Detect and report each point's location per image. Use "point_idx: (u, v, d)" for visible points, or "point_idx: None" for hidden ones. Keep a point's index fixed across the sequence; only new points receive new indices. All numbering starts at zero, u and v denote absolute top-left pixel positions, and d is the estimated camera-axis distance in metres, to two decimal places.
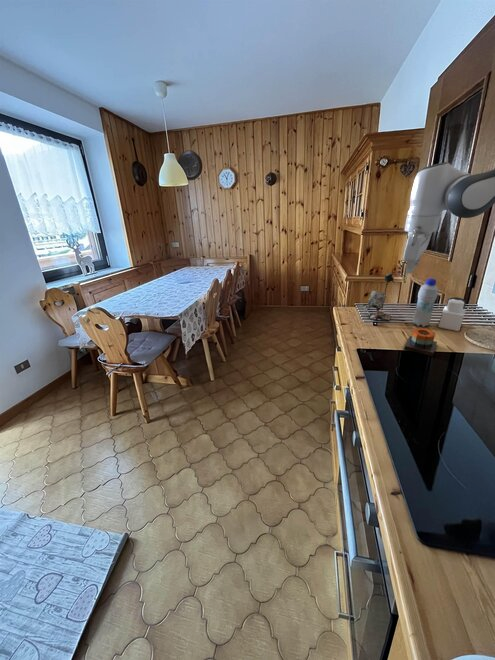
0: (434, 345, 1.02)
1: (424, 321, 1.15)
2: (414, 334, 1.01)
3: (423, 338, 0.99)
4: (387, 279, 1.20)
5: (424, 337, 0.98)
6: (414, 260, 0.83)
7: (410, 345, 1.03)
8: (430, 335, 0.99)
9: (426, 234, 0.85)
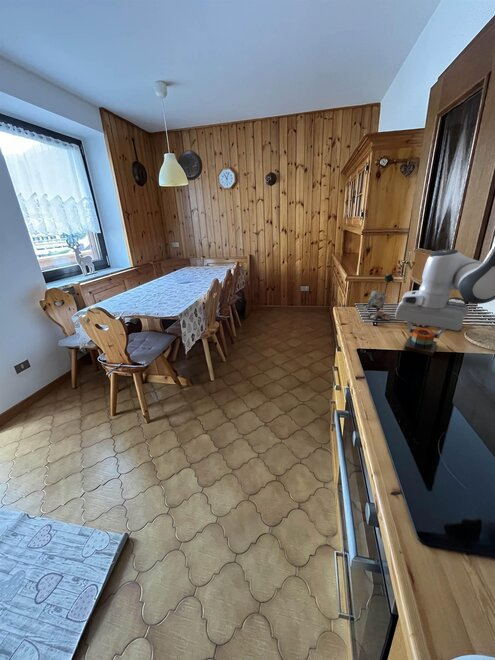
0: (434, 345, 1.02)
1: None
2: (414, 334, 1.01)
3: (423, 338, 0.99)
4: (387, 279, 1.20)
5: (424, 337, 0.98)
6: None
7: (410, 345, 1.03)
8: (430, 335, 0.99)
9: None
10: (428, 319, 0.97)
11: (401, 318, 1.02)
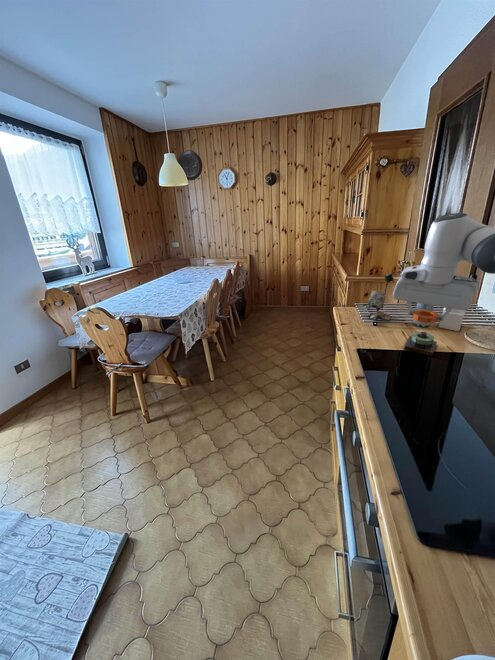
0: (434, 345, 1.02)
1: None
2: (415, 316, 0.88)
3: (425, 320, 0.86)
4: (387, 279, 1.20)
5: (426, 319, 0.85)
6: None
7: (410, 345, 1.03)
8: (433, 317, 0.85)
9: None
10: (431, 297, 0.84)
11: (400, 298, 0.89)
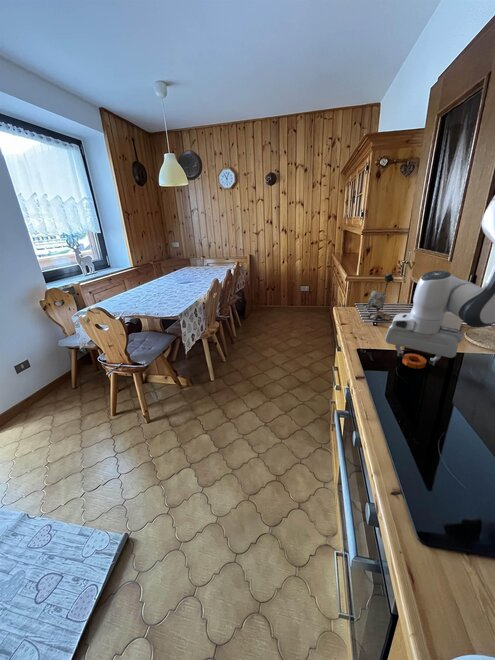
0: None
1: None
2: (404, 361, 0.95)
3: (413, 366, 0.93)
4: (387, 279, 1.20)
5: (415, 365, 0.92)
6: None
7: None
8: (421, 363, 0.92)
9: None
10: (420, 344, 0.90)
11: (392, 342, 0.95)
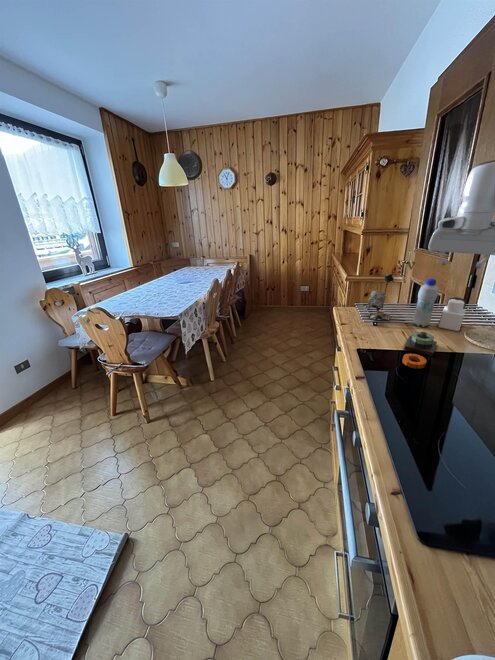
0: (434, 345, 1.02)
1: (424, 321, 1.15)
2: (404, 361, 0.95)
3: (413, 366, 0.93)
4: (387, 279, 1.20)
5: (415, 365, 0.92)
6: None
7: (410, 345, 1.03)
8: (421, 363, 0.92)
9: None
10: (468, 245, 0.87)
11: (435, 248, 0.92)
